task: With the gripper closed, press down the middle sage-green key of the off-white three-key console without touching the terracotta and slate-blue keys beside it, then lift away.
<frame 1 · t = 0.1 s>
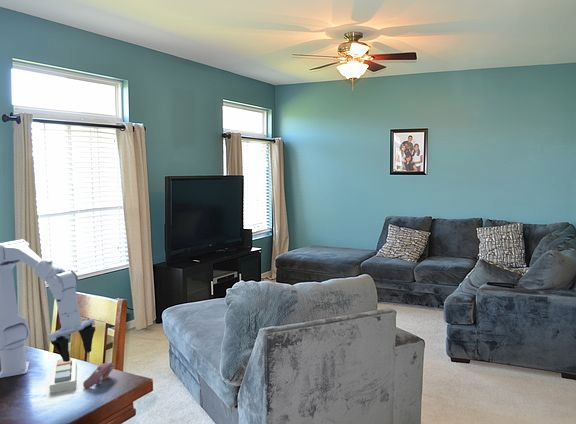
hand: (77, 356, 148), 10 cm above the table, fingers open, 7 cm apart
terracotta key: (64, 364, 161), point 3 cm above the table, slide at 0.0 cm
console: (64, 378, 157), on the table
slate key: (63, 377, 151), point 3 cm above the table, slide at 0.0 cm
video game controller: (100, 382, 154), on the table
sage key: (63, 370, 156), point 3 cm above the table, slide at 0.0 cm
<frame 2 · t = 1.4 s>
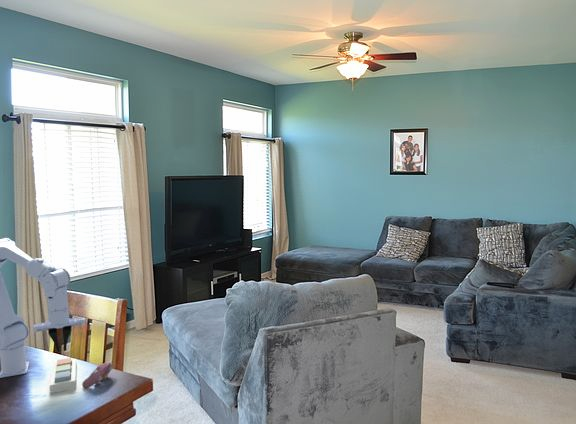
hand: (61, 350, 156), 9 cm above the table, fingers closed
nothing on the table moved.
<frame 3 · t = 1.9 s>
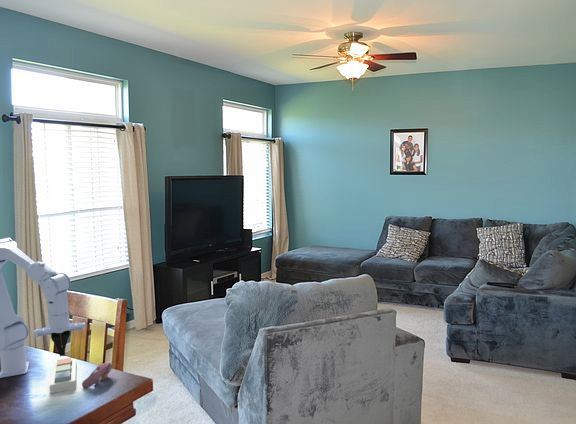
hand: (62, 354, 156), 8 cm above the table, fingers closed
nothing on the table moved.
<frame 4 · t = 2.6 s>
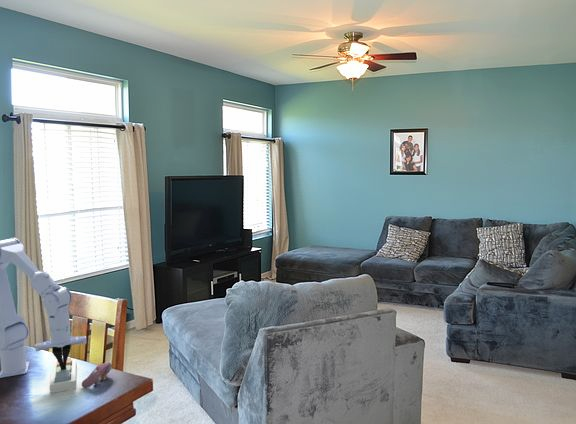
hand: (63, 368, 156), 3 cm above the table, fingers closed, pressing on sage key
sage key: (63, 371, 156), point 2 cm above the table, slide at 0.3 cm, touching gripper
everything else where it was.
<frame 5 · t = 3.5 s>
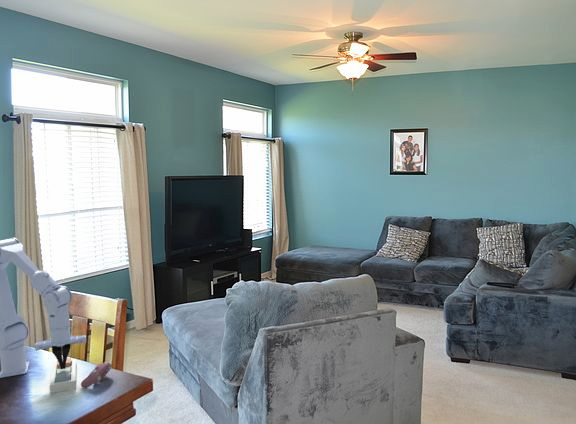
hand: (63, 367, 156), 4 cm above the table, fingers closed
sage key: (63, 373, 156), point 2 cm above the table, slide at 1.0 cm
everything else where it was.
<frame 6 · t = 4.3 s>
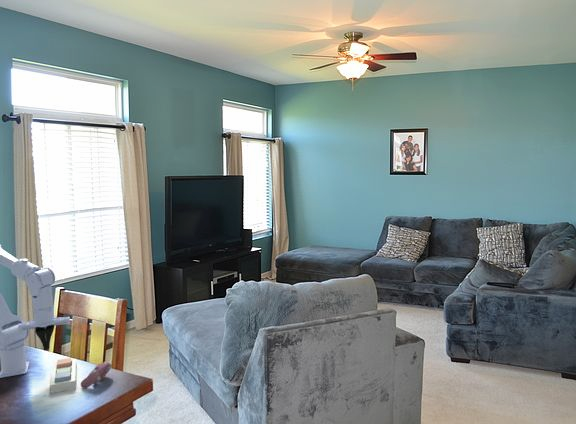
hand: (46, 348, 157), 9 cm above the table, fingers closed
nothing on the table moved.
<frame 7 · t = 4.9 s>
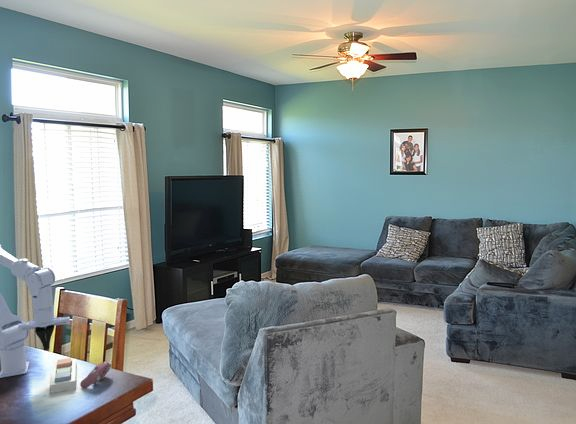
hand: (46, 348, 157), 9 cm above the table, fingers closed
nothing on the table moved.
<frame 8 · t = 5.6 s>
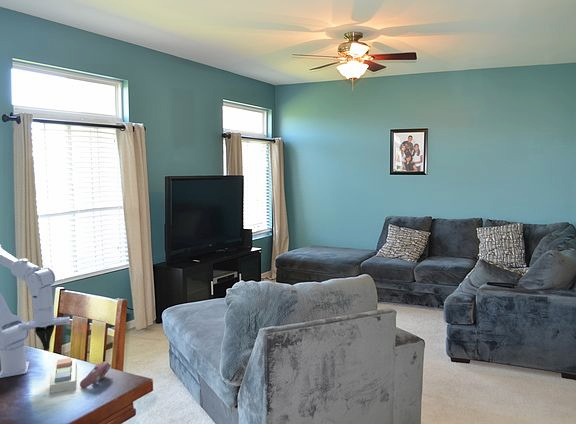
hand: (46, 348, 157), 9 cm above the table, fingers closed
at the end: sage key slide at 1.0 cm; terracotta key slide at 0.0 cm; slate key slide at 0.0 cm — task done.
